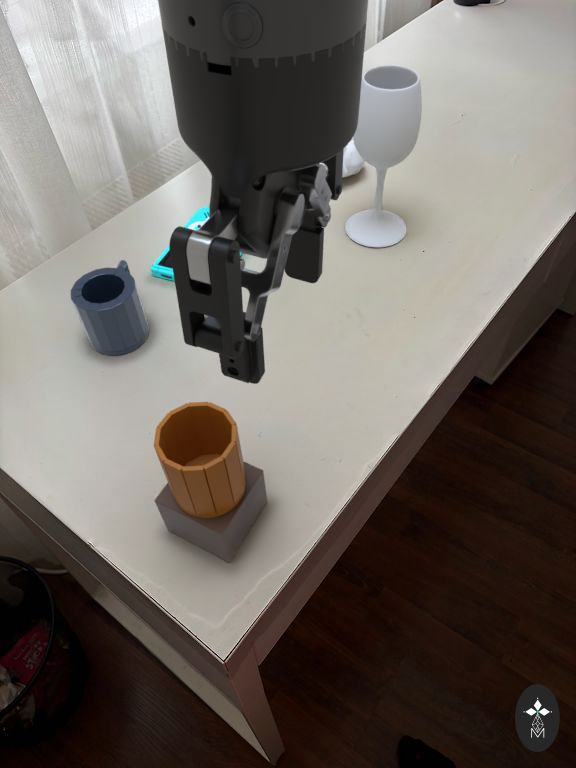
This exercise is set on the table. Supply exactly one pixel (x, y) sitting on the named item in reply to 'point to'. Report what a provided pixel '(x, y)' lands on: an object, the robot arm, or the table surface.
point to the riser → (217, 518)
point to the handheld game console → (164, 262)
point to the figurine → (350, 160)
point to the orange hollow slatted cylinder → (201, 458)
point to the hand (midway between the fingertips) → (275, 322)
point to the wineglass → (385, 144)
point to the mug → (111, 310)
